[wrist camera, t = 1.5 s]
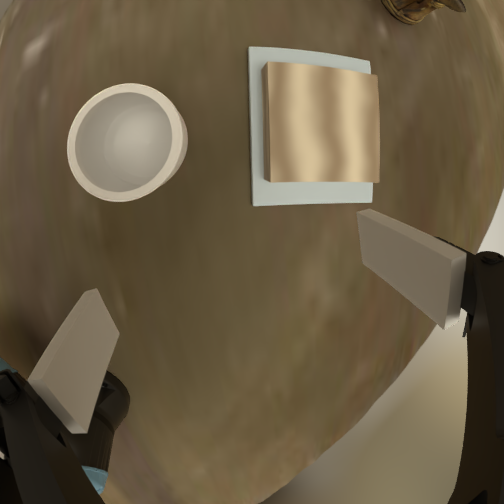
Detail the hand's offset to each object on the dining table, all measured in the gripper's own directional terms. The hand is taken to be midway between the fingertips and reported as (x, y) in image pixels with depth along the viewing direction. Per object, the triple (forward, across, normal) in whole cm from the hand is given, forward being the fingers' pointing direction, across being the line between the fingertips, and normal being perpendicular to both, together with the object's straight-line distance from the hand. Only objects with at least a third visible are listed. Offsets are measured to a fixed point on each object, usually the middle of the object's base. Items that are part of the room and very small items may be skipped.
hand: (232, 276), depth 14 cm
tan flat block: (+26, +16, +6) cm, 31 cm away
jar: (+27, -6, +9) cm, 29 cm away
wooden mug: (+27, +38, +26) cm, 53 cm away
